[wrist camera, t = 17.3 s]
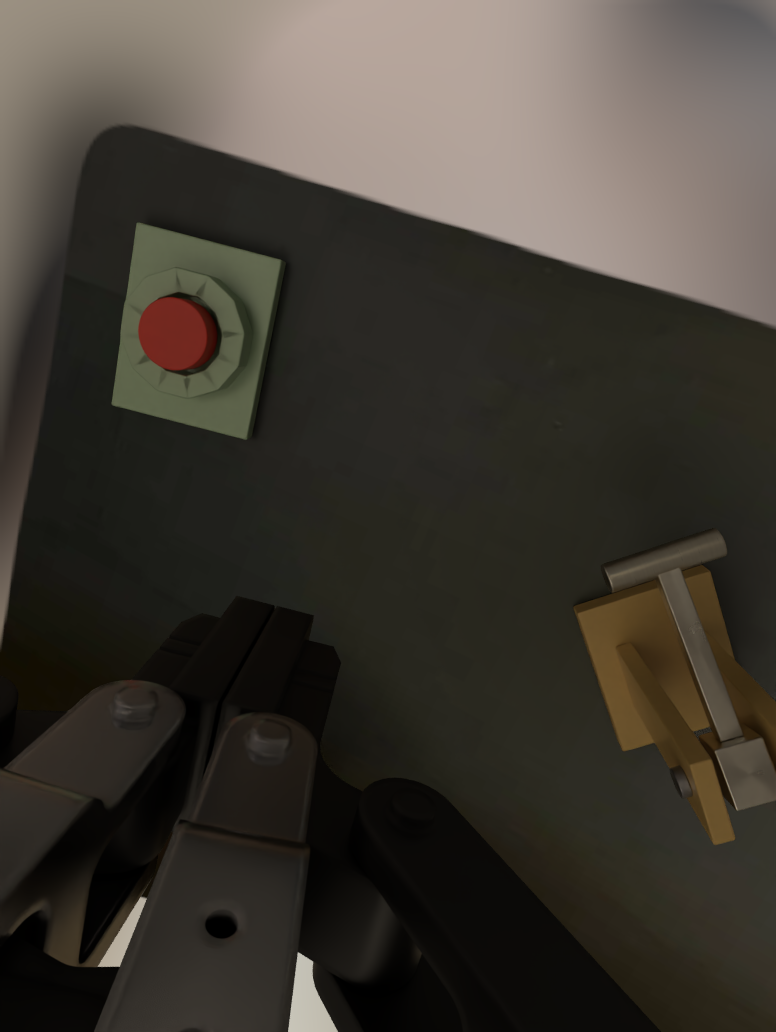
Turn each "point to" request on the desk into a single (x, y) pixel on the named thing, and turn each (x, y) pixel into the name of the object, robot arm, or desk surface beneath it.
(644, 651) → the bracket
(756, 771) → the lever
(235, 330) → the button box
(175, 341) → the button
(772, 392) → the desk surface
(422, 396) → the desk surface
